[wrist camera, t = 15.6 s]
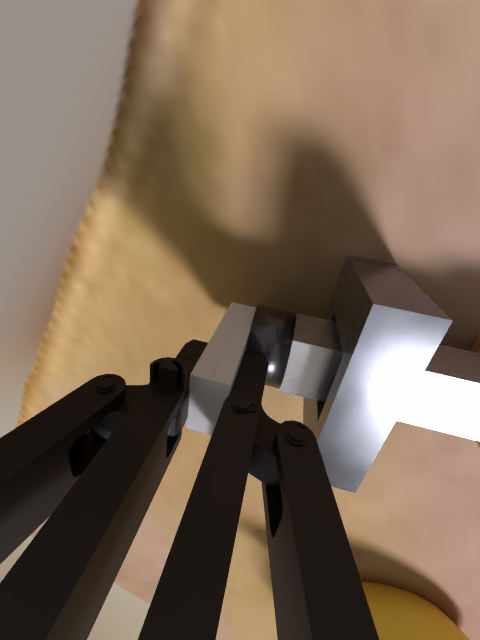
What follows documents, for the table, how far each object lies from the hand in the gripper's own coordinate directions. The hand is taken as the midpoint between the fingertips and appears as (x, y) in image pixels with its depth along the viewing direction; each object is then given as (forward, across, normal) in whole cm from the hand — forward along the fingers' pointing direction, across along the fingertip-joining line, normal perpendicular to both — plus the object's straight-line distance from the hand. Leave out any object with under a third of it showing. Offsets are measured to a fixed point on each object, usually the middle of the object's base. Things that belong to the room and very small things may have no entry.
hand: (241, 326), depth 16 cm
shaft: (+1, +7, 0) cm, 7 cm away
